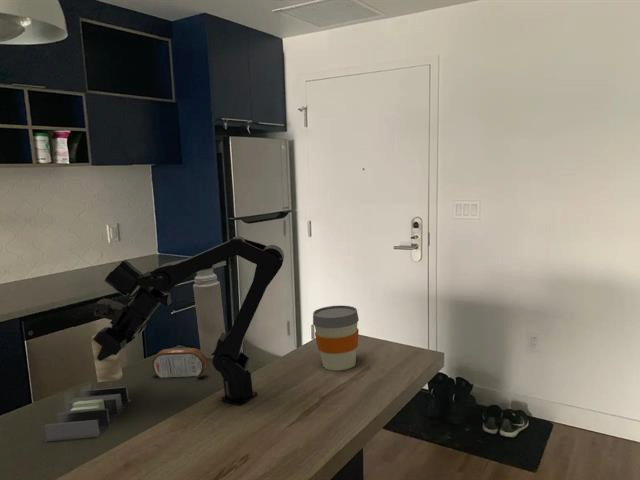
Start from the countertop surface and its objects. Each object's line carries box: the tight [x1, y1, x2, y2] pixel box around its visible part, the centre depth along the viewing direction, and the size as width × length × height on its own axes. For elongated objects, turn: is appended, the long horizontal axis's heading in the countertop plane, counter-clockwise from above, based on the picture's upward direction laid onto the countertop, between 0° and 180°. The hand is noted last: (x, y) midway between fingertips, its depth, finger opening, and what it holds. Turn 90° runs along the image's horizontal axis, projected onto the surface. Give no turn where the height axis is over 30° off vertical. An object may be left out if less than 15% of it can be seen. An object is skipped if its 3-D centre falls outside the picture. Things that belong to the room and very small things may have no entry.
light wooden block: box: [90, 333, 124, 383], centre depth 119 cm, size 5×2×11 cm, turn 91°
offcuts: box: [70, 399, 105, 412], centre depth 113 cm, size 6×4×4 cm, turn 91°
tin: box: [151, 347, 209, 379], centre depth 136 cm, size 15×3×8 cm, turn 84°
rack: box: [43, 386, 131, 443], centre depth 114 cm, size 12×18×4 cm
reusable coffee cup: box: [312, 305, 359, 371], centre depth 136 cm, size 12×13×15 cm
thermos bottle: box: [192, 265, 226, 359], centre depth 153 cm, size 8×8×28 cm
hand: (101, 357), depth 119 cm, fingers closed on light wooden block, 2 cm apart
